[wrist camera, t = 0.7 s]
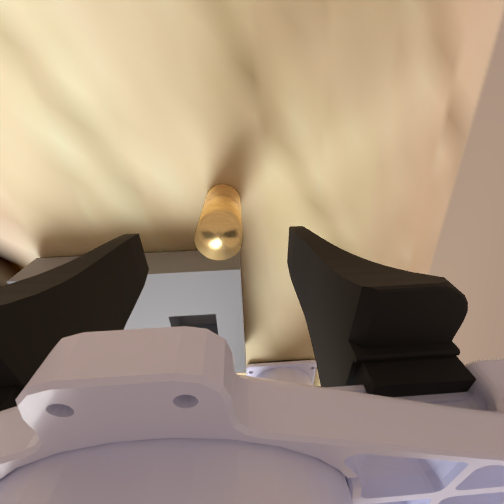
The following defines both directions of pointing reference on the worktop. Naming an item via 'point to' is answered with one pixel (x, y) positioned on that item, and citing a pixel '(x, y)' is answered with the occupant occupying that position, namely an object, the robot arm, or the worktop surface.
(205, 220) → the brass pin
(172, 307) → the bore block
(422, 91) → the worktop surface
